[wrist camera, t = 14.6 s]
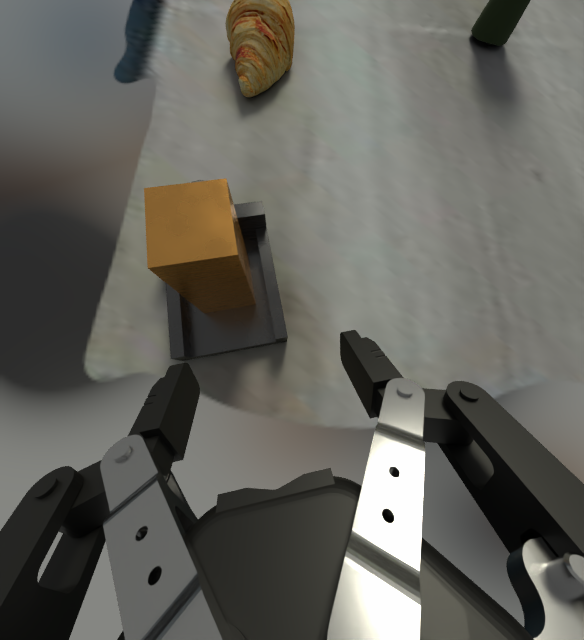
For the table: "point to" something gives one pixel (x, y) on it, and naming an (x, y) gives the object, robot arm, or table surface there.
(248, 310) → the tray
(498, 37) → the character mug
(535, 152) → the table surface
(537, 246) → the table surface
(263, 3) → the croissant
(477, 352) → the table surface
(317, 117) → the table surface
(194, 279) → the block
